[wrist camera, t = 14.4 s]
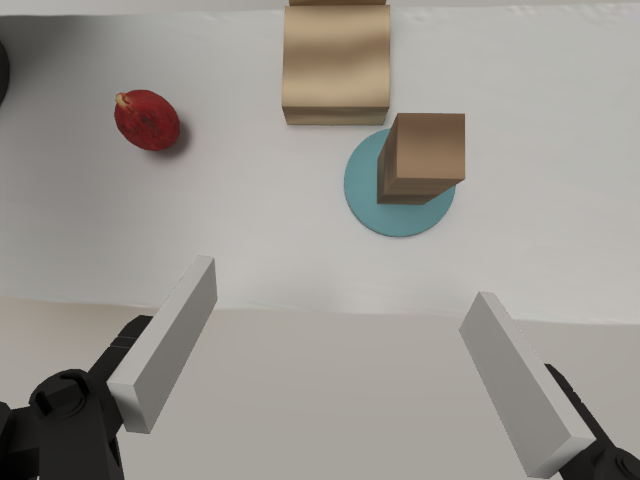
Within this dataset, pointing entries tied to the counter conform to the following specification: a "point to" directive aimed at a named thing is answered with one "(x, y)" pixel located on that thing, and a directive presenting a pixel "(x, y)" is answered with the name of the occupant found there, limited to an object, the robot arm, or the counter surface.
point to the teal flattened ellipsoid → (386, 216)
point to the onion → (146, 119)
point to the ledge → (336, 62)
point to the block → (421, 158)
